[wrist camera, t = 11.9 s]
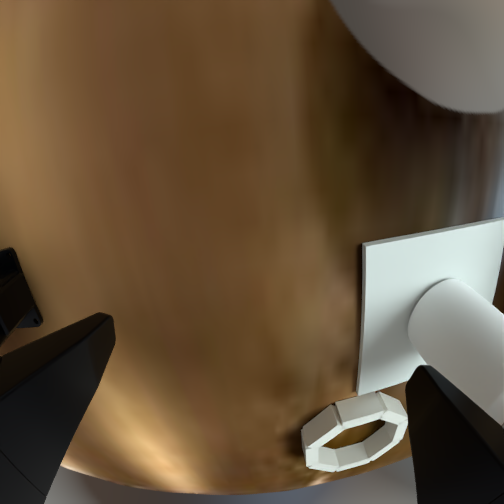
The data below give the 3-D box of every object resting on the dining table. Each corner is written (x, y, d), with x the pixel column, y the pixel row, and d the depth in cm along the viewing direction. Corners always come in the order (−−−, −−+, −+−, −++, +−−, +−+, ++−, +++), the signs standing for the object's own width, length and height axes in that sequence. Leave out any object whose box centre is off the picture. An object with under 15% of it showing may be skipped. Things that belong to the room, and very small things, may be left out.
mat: (355, 391, 24) (358, 395, 23) (362, 243, 19) (365, 246, 18) (474, 348, 24) (477, 351, 24) (502, 217, 19) (506, 219, 18)
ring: (303, 461, 28) (307, 478, 26) (299, 409, 24) (304, 431, 22) (389, 437, 28) (396, 453, 26) (405, 381, 24) (416, 399, 22)
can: (452, 339, 22) (526, 430, 11) (395, 350, 22) (467, 465, 11) (475, 274, 20) (574, 356, 9) (417, 277, 19) (527, 388, 8)
